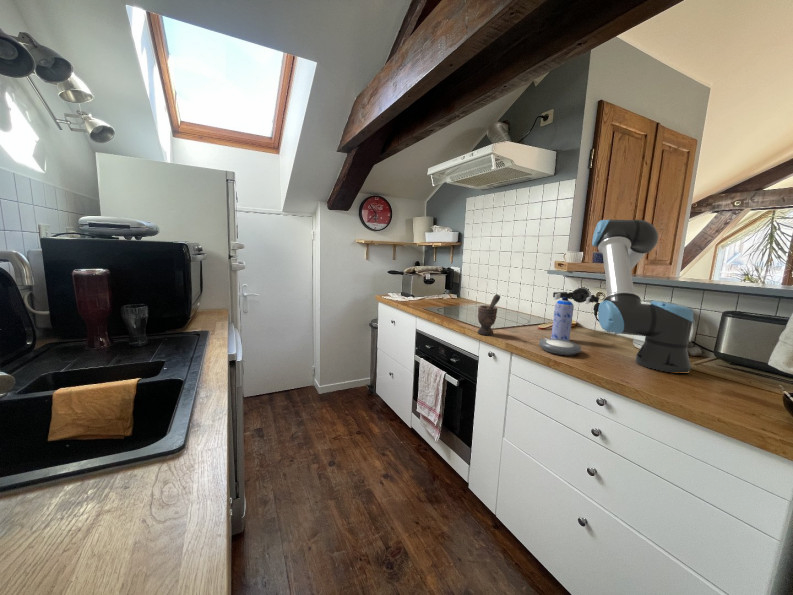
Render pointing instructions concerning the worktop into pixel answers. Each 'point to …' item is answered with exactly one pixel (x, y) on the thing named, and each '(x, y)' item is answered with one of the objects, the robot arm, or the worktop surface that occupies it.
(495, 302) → the mortar and pestle
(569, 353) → the turntable base
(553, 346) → the disc
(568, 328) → the aerosol can
